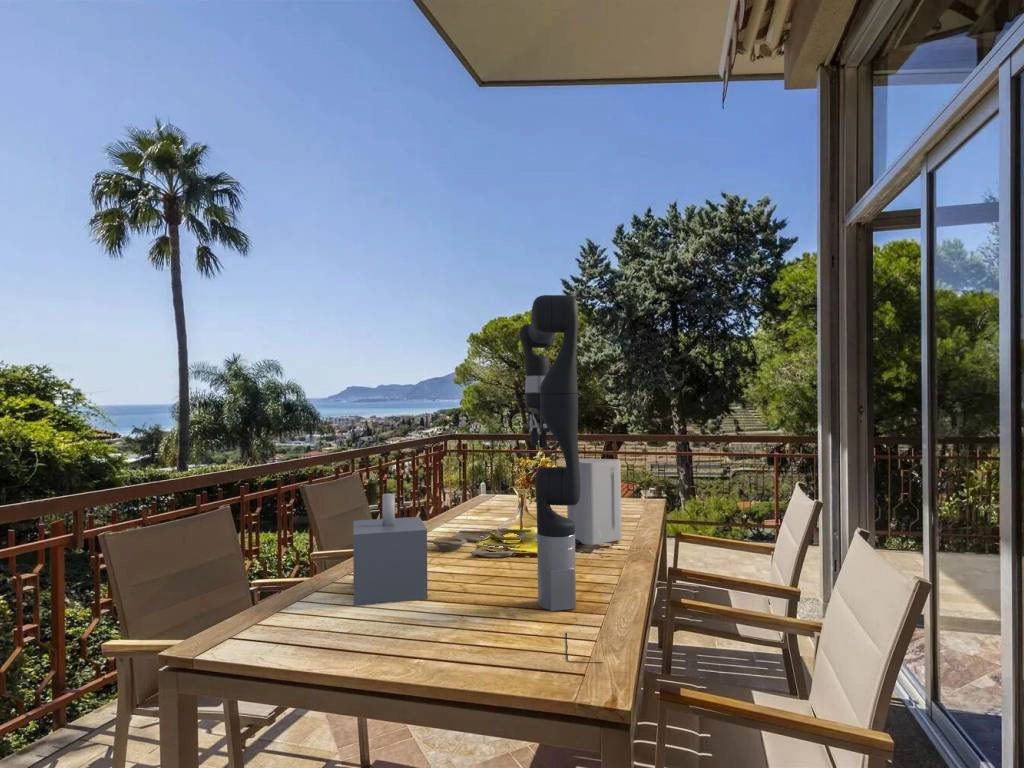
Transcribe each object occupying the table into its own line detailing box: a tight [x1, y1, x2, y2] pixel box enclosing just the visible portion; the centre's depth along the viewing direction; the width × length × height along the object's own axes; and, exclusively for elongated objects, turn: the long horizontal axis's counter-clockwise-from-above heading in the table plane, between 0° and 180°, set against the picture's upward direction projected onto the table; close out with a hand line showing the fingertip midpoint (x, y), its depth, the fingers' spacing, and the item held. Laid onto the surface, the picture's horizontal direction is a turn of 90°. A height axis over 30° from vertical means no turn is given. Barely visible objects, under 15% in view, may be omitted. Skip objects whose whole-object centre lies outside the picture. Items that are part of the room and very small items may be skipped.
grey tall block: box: [566, 458, 623, 546], centre depth 215 cm, size 19×15×28 cm
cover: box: [352, 493, 428, 607], centre depth 159 cm, size 18×18×25 cm
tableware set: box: [427, 528, 532, 559], centre depth 209 cm, size 35×29×4 cm
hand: (538, 446), depth 178 cm, fingers open, 8 cm apart
